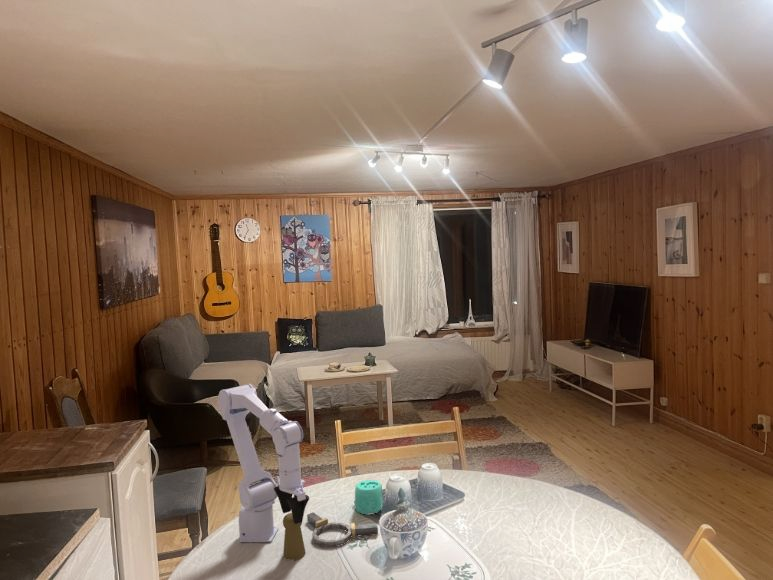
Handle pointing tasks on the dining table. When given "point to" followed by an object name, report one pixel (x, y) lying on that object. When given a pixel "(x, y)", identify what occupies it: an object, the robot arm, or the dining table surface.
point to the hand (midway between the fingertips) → (292, 517)
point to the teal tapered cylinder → (368, 496)
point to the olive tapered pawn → (293, 539)
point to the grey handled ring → (324, 525)
